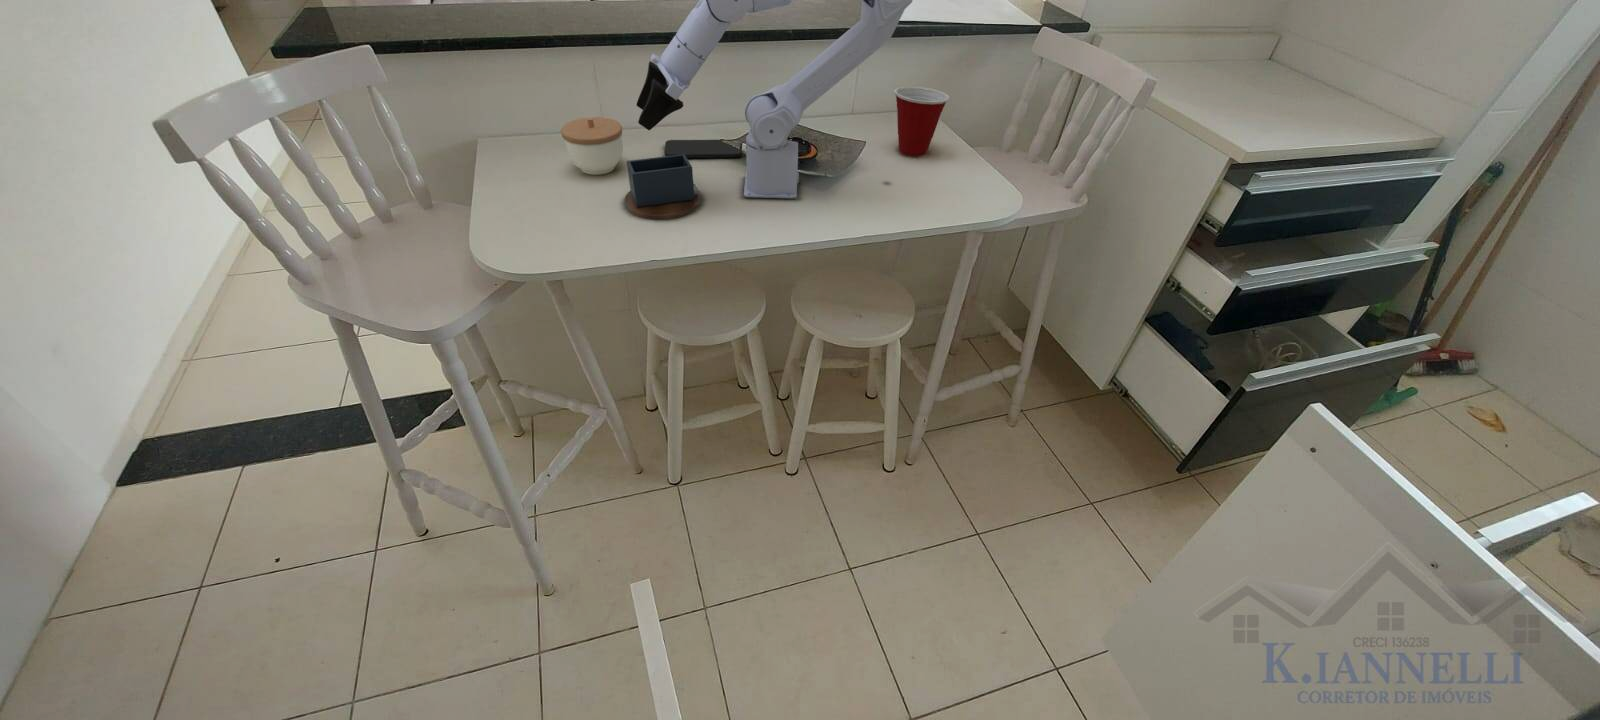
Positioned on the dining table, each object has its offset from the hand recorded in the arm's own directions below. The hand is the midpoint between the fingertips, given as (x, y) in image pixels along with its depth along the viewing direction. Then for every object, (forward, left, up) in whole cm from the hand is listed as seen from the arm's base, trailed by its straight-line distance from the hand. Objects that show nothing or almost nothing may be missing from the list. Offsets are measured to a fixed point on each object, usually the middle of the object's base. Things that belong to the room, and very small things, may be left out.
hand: (642, 117), depth 109 cm
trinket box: (+12, -11, -14) cm, 21 cm away
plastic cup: (-50, -23, -14) cm, 57 cm away
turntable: (-2, +2, -14) cm, 14 cm away
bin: (-3, +2, -13) cm, 13 cm away
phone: (-7, -20, -14) cm, 25 cm away
